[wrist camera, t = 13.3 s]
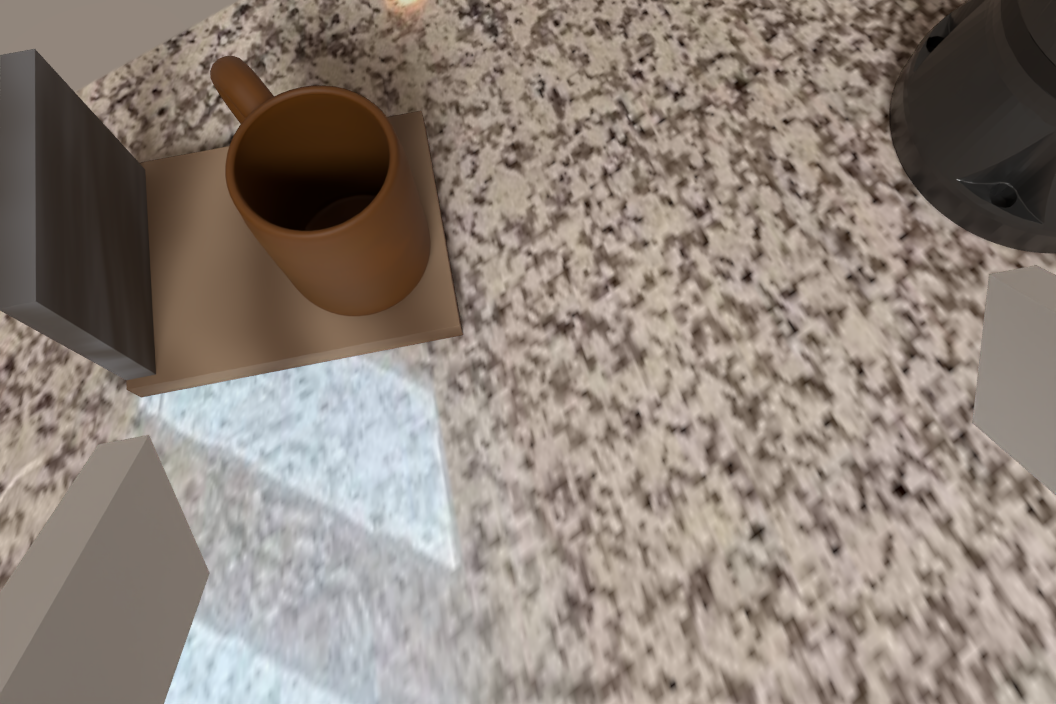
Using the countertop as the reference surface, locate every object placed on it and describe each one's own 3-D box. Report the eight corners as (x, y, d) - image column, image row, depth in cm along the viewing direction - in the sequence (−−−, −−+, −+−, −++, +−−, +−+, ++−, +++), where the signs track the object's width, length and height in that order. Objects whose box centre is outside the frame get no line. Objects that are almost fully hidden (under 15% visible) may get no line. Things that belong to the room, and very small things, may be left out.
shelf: (425, 126, 47) (386, -24, 36) (463, 335, 43) (431, 238, 32) (131, 180, 46) (0, 45, 35) (141, 397, 42) (-4, 320, 31)
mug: (215, 193, 44) (129, 85, 35) (327, 112, 45) (272, -11, 37) (347, 351, 41) (289, 276, 32) (463, 259, 42) (438, 164, 33)
